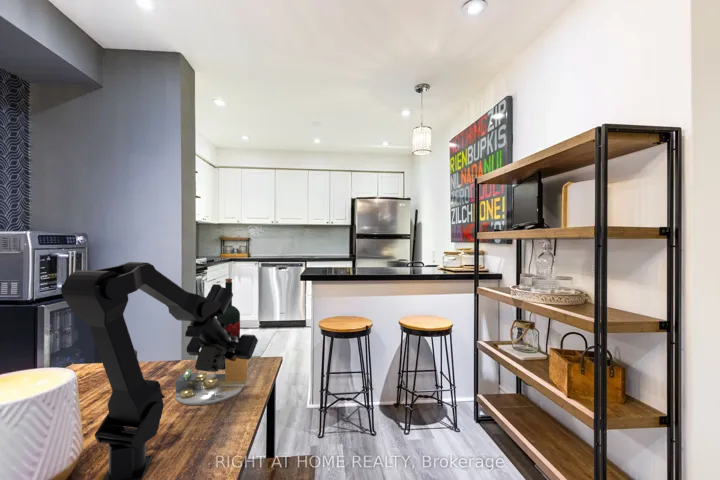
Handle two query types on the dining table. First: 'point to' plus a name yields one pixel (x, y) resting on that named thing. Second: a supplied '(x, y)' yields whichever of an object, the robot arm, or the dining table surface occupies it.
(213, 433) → the dining table surface
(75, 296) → the robot arm
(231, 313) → the wine bottle
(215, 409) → the dining table surface
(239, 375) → the lever
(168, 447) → the dining table surface
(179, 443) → the dining table surface
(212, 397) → the levelling plate
